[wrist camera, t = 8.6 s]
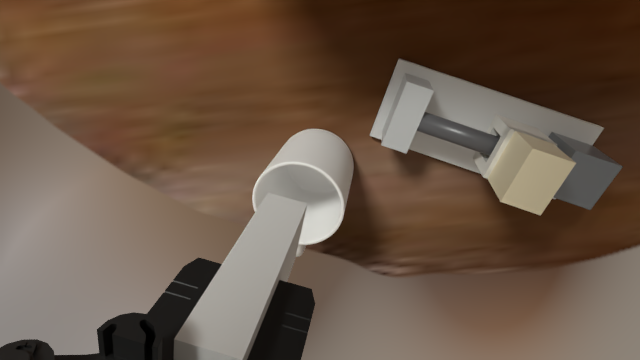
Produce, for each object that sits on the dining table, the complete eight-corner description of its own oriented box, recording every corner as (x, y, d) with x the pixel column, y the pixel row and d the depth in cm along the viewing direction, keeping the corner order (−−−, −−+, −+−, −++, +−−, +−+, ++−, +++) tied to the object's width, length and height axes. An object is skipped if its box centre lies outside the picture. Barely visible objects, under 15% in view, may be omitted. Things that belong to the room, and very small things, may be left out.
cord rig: (370, 133, 39) (366, 153, 34) (398, 57, 36) (400, 67, 30) (552, 195, 39) (578, 226, 33) (599, 125, 35) (637, 147, 30)
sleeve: (472, 157, 36) (495, 200, 28) (495, 114, 34) (527, 146, 26) (511, 171, 36) (545, 217, 28) (537, 128, 34) (581, 164, 26)
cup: (360, 133, 40) (350, 171, 30) (344, 227, 45) (332, 284, 36) (284, 121, 40) (253, 154, 31) (277, 215, 46) (249, 267, 37)
